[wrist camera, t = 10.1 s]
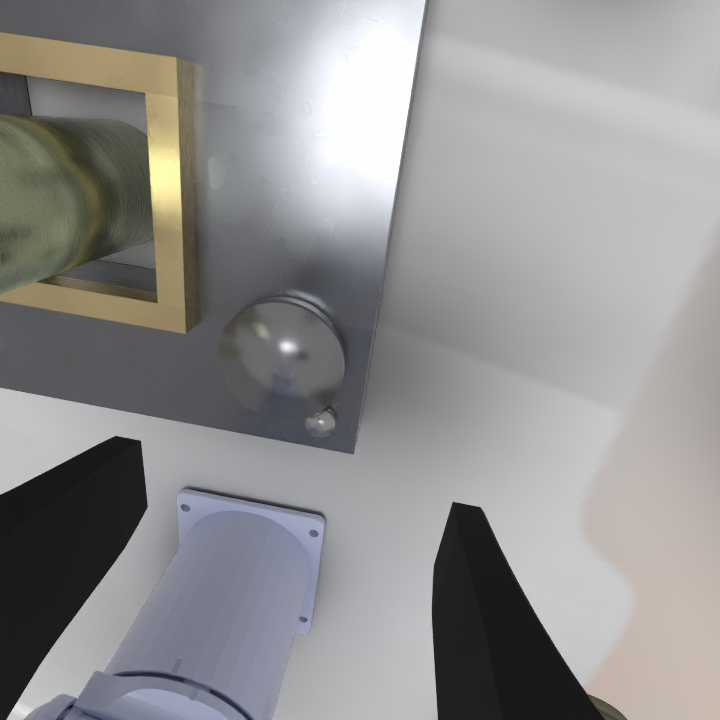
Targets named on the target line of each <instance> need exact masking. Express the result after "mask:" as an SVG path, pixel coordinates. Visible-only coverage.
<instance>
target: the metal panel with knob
mask: <svg viewBox="0 0 720 720" xmlns="http://www.w3.org/2000/svg"><path fill="white" fill-rule="evenodd" d="M428 2H429V0H0V114H13V115H31V110H30V103H29V97H28V91H27V85H26V78H25V76H31V77H38V78H45V79H51V80H58V81H65V82H72V83H78V84H85V85H92V86H98V87H105V88H112V89H119V90H125V91H132V92H139V93H145V101H146V117H147V134H148V150H149V166H150V182H151V199H152V215H153V231H154V247H155V264H156V270H154V269H148V268H142V267H136V266H131V265H125V264H119V263H113V262H107V261H101V260H94V261H91V262H89V263H86V264H83V265H81V266H78V267H75V268H72V269H70V270H67V271H64V272H62V273H59V274H56V275H54V276H51V277H48V278H45V279H43V280H40V281H37V282H35V283H32V284H29V285H26V286H24V287H21V288H18V289H16V290H13V291H10V292H8V293H5V294H2V295H0V388H5V389H11V390H16V391H21V392H26V393H32V394H37V395H42V396H48V397H53V398H58V399H63V400H69V401H74V402H79V403H85V404H90V405H95V406H100V407H106V408H111V409H116V410H122V411H127V412H132V413H138V414H143V415H148V416H153V417H159V418H164V419H169V420H175V421H180V422H185V423H190V424H196V425H201V426H206V427H212V428H217V429H222V430H228V431H233V432H238V433H243V434H249V435H254V436H259V437H265V438H270V439H275V440H280V441H286V442H291V443H296V444H302V445H307V446H312V447H317V448H323V449H328V450H333V451H339V452H344V453H349V454H354V451H355V446H356V442H357V437H358V433H359V429H360V424H361V419H362V413H363V407H364V400H365V394H366V388H367V382H368V375H369V369H370V363H371V357H372V351H373V344H374V338H375V332H376V326H377V320H378V313H379V307H380V301H381V295H382V288H383V282H384V276H385V270H386V264H387V257H388V251H389V245H390V239H391V232H392V226H393V220H394V214H395V208H396V201H397V195H398V189H399V183H400V177H401V170H402V164H403V158H404V152H405V145H406V139H407V133H408V127H409V121H410V114H411V108H412V102H413V96H414V90H415V83H416V77H417V71H418V65H419V58H420V52H421V46H422V40H423V34H424V27H425V21H426V15H427V9H428Z"/></svg>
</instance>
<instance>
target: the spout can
mask: <svg viewBox="0 0 720 720" xmlns="http://www.w3.org/2000/svg"><path fill="white" fill-rule="evenodd" d="M152 238H154V231H153V215H152V199H151V182H150V166H149V150H148V137H147V136H145V135H144V134H143V133H141V132H140V131H139V130H137V129H135V128H134V127H132V126H130V125H127V124H125V123H122V122H119V121H113V120H102V119H84V118H66V117H49V116H31V115H13V114H0V295H2V294H5V293H8V292H10V291H13V290H16V289H18V288H21V287H24V286H26V285H29V284H32V283H35V282H37V281H40V280H43V279H45V278H48V277H51V276H54V275H56V274H59V273H62V272H64V271H67V270H70V269H72V268H75V267H78V266H81V265H83V264H86V263H89V262H91V261H94V260H97V259H100V258H102V257H105V256H108V255H110V254H113V253H116V252H119V251H121V250H124V249H127V248H129V247H132V246H135V245H137V244H140V243H143V242H146V241H148V240H150V239H152Z"/></svg>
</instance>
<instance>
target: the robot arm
mask: <svg viewBox="0 0 720 720" xmlns="http://www.w3.org/2000/svg"><path fill="white" fill-rule="evenodd" d="M176 501H177V519H178V538H179V549H178V550H177V552H176V554H175V555H174V557H173V559H172V560H171V562H170V564H169V565H168V567H167V569H166V570H165V572H164V574H163V575H162V577H161V579H160V580H159V582H158V584H157V585H156V587H155V589H154V590H153V592H152V594H151V595H150V597H149V599H148V600H147V602H146V604H145V605H144V607H143V609H142V610H141V612H140V614H139V615H138V617H137V618H136V620H135V622H134V623H133V625H132V627H131V628H130V630H129V632H128V633H127V635H126V637H125V638H124V640H123V642H122V643H121V645H120V647H119V648H118V650H117V652H116V653H115V655H114V657H113V658H112V660H111V662H110V663H109V665H108V667H107V668H106V670H105V672H104V673H102V672H99V671H96V672H94V673H93V675H92V677H91V678H90V680H89V681H88V683H87V685H86V686H85V688H84V689H83V691H82V693H81V694H80V696H79V697H78V699H77V698H75V697H72V696H69V695H67V694H61V695H59V696H57V697H55V698H54V699H52V700H51V701H50V702H48V703H46V704H44V705H42V706H40V707H38V708H36V709H35V710H33V711H32V712H31V713H30V714H29V715H28V716H27V717H26V718H25V719H24V720H272V718H273V714H274V710H275V706H276V703H277V699H278V695H279V691H280V688H281V684H282V680H283V676H284V672H285V669H286V665H287V661H288V657H289V654H290V650H291V646H292V642H293V638H294V635H295V634H299V635H307V634H309V633H310V630H311V625H312V617H313V610H314V603H315V595H316V588H317V581H318V573H319V566H320V559H321V551H322V544H323V537H324V529H325V520H324V519H323V518H322V517H321V516H319V515H316V514H311V513H306V512H300V511H295V510H290V509H285V508H280V507H275V506H270V505H265V504H260V503H255V502H250V501H245V500H240V499H235V498H229V497H224V496H219V495H214V494H209V493H204V492H199V491H194V490H189V489H183V490H181V491H180V492H179V494H178V495H177V498H176ZM185 504H186V505H188V506H186V505H185ZM147 507H148V505H147V495H146V486H145V476H144V466H143V457H142V447H141V441H139V440H134V439H129V438H124V437H118V436H115V437H113V438H110V439H108V440H106V441H104V442H102V443H100V444H98V445H96V446H94V447H92V448H90V449H89V450H87V451H85V452H83V453H81V454H79V455H77V456H75V457H73V458H71V459H70V460H68V461H66V462H64V463H62V464H60V465H58V466H56V467H54V468H52V469H50V470H49V471H47V472H45V473H43V474H41V475H39V476H37V477H35V478H33V479H31V480H29V481H27V482H25V483H23V484H22V485H20V486H18V487H16V488H14V489H12V490H10V491H8V492H5V493H3V494H1V495H0V720H6V719H7V717H8V716H9V714H10V712H11V711H12V709H13V708H14V706H15V704H16V703H17V701H18V699H19V698H20V696H21V695H22V693H23V691H24V690H25V688H26V686H27V685H28V683H29V682H30V680H31V678H32V677H33V675H34V673H35V672H36V670H37V669H38V667H39V665H40V664H41V662H42V661H43V660H44V658H45V657H46V655H47V654H48V652H49V651H50V649H51V648H52V646H53V645H54V644H55V642H56V641H57V639H58V638H59V637H60V635H61V634H62V633H63V631H64V630H65V629H66V627H67V626H68V625H69V623H70V622H71V620H72V619H73V618H74V616H75V615H76V614H77V612H78V611H79V610H80V608H81V607H82V606H83V604H84V603H85V602H86V600H87V599H88V598H89V596H90V595H91V593H92V592H93V591H94V589H95V588H96V587H97V585H98V584H99V583H100V581H101V580H102V579H103V577H104V576H105V575H106V573H107V572H108V570H109V569H110V568H111V566H112V565H113V564H114V562H115V561H116V559H117V558H118V557H119V555H120V554H121V552H122V551H123V550H124V548H125V547H126V545H127V543H128V541H129V540H130V538H131V536H132V535H133V533H134V531H135V529H136V528H137V526H138V524H139V522H140V520H141V518H142V517H143V515H144V513H145V511H146V509H147ZM312 530H316V531H317V532H314V531H312ZM432 627H433V644H434V661H435V677H436V694H437V710H438V720H605V719H604V717H603V716H602V714H601V713H600V712H599V710H598V709H597V708H596V706H595V705H594V703H593V702H592V700H591V699H590V698H589V696H588V695H587V693H586V692H585V690H584V689H583V688H582V686H581V685H580V683H579V682H578V680H577V679H576V677H575V676H574V674H573V673H572V671H571V670H570V668H569V667H568V665H567V664H566V662H565V661H564V659H563V658H562V656H561V654H560V653H559V651H558V650H557V648H556V647H555V645H554V643H553V642H552V640H551V638H550V637H549V635H548V633H547V632H546V630H545V629H544V627H543V625H542V624H541V622H540V620H539V619H538V617H537V615H536V613H535V612H534V610H533V608H532V606H531V605H530V603H529V601H528V599H527V597H526V596H525V594H524V592H523V590H522V588H521V586H520V585H519V583H518V581H517V579H516V577H515V575H514V574H513V572H512V570H511V568H510V566H509V564H508V562H507V560H506V558H505V556H504V554H503V552H502V550H501V548H500V546H499V544H498V542H497V540H496V537H495V535H494V533H493V531H492V529H491V527H490V524H489V522H488V520H487V518H486V516H485V513H484V512H483V510H482V509H481V507H476V506H471V505H466V504H461V503H456V502H453V503H452V506H451V510H450V513H449V516H448V520H447V523H446V527H445V530H444V533H443V537H442V540H441V543H440V547H439V550H438V553H437V557H436V560H435V564H434V574H433V594H432Z"/></svg>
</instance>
